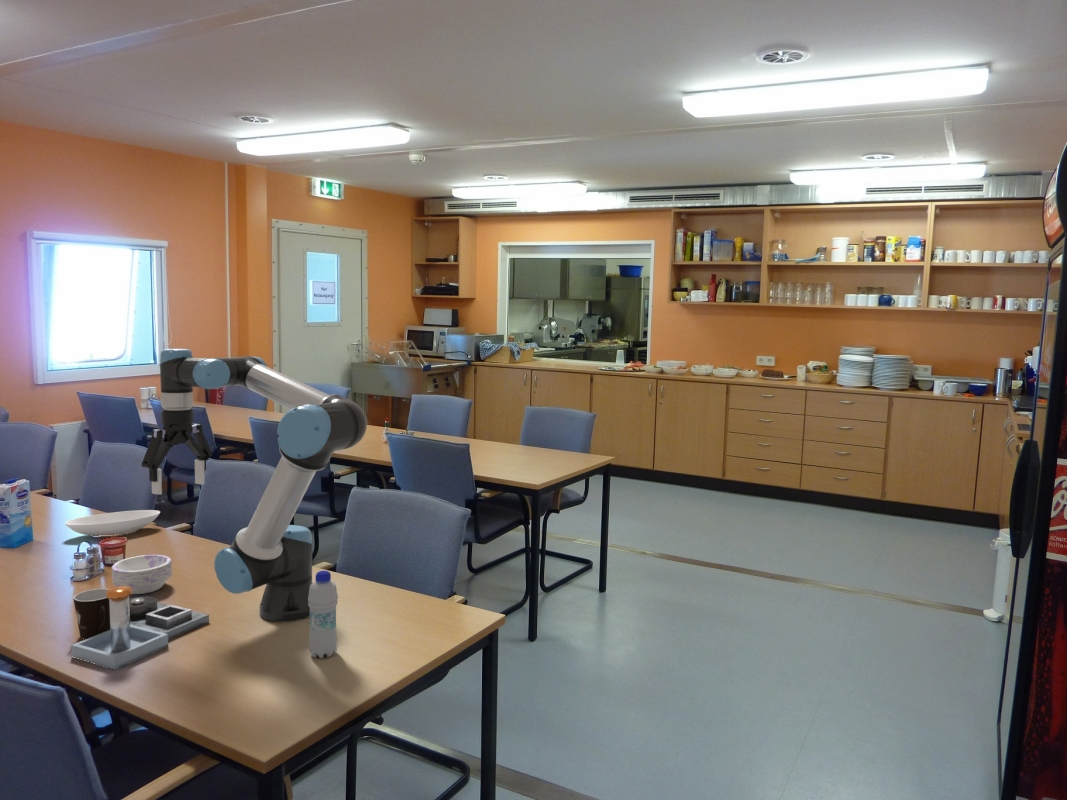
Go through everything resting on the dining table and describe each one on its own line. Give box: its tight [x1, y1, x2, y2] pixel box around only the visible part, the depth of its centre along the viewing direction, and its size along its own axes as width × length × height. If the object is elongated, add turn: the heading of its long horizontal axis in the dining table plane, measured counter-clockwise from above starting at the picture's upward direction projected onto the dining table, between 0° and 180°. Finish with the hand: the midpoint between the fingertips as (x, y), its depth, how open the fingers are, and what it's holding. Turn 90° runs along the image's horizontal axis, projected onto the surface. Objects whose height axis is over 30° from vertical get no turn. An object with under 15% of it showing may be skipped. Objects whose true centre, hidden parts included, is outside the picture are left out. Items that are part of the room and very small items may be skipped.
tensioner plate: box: [129, 596, 210, 641], centre depth 192 cm, size 22×14×5 cm, turn 66°
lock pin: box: [106, 586, 133, 653], centre depth 175 cm, size 5×5×14 cm
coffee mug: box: [72, 588, 110, 640], centre depth 183 cm, size 12×9×10 cm
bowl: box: [64, 509, 161, 537], centre depth 270 cm, size 30×15×6 cm, turn 129°
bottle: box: [308, 570, 339, 659], centre depth 177 cm, size 7×7×20 cm
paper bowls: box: [111, 554, 173, 595], centre depth 216 cm, size 15×15×8 cm
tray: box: [70, 624, 169, 671], centre depth 176 cm, size 14×14×3 cm
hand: (179, 488), depth 199 cm, fingers open, 13 cm apart
